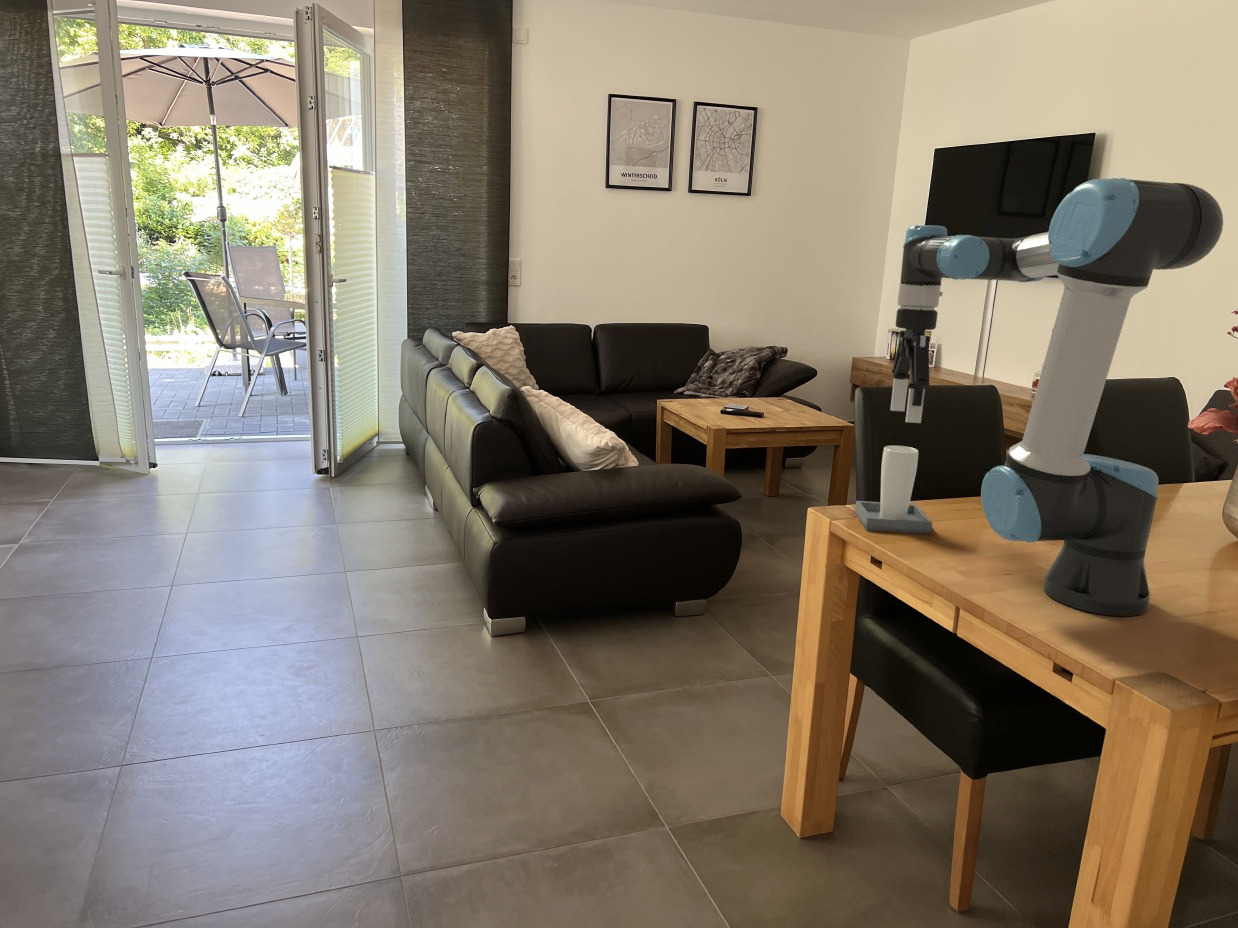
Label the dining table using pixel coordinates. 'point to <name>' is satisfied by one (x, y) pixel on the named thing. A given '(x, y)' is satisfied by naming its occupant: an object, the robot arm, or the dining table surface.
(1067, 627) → the dining table surface
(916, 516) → the tray
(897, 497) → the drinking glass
